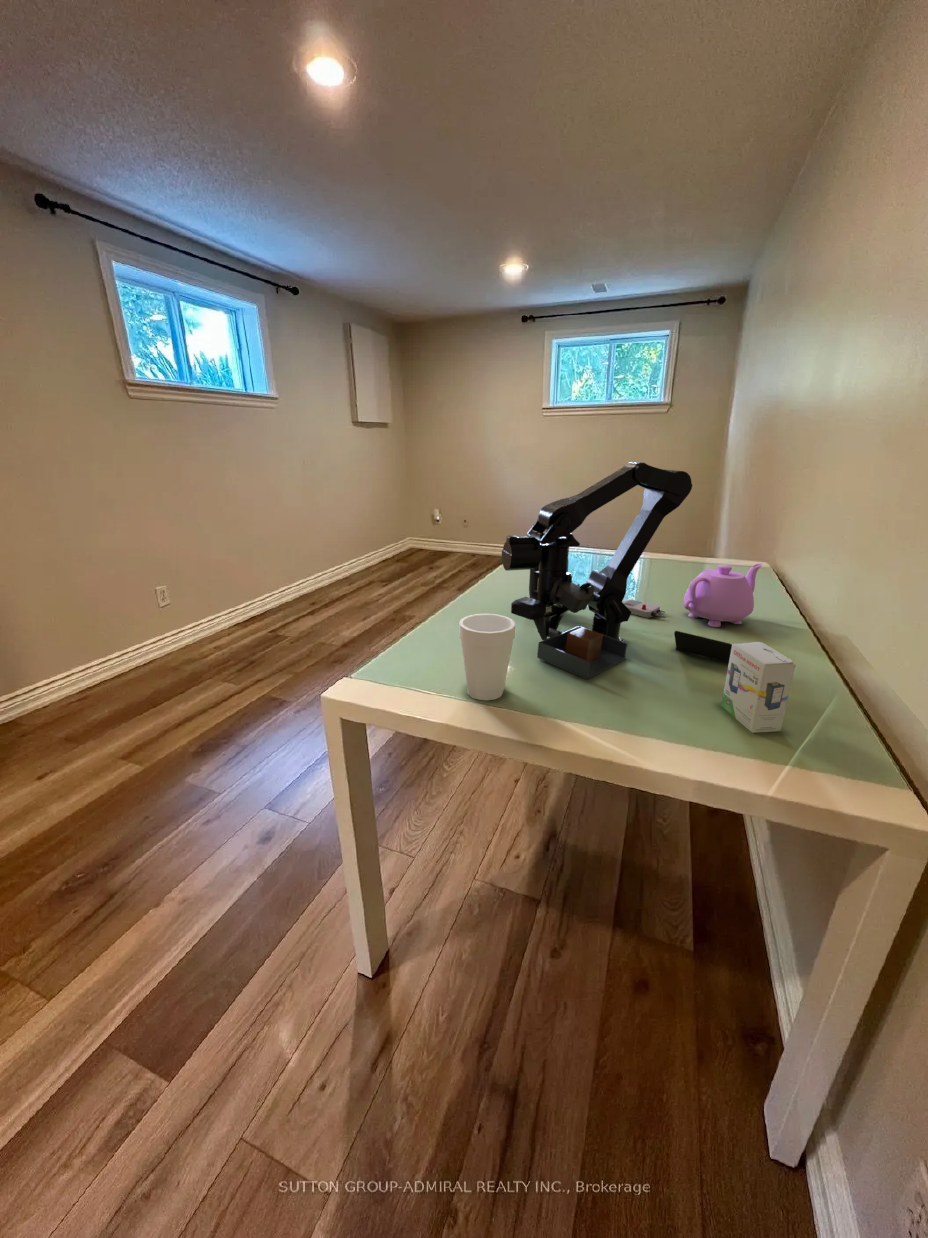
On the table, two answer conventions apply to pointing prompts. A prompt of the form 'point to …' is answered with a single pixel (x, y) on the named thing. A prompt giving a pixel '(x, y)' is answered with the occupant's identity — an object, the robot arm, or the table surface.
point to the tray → (556, 655)
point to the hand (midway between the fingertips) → (547, 638)
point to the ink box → (757, 686)
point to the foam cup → (486, 653)
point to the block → (584, 644)
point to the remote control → (643, 609)
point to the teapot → (721, 595)
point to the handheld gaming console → (703, 646)
